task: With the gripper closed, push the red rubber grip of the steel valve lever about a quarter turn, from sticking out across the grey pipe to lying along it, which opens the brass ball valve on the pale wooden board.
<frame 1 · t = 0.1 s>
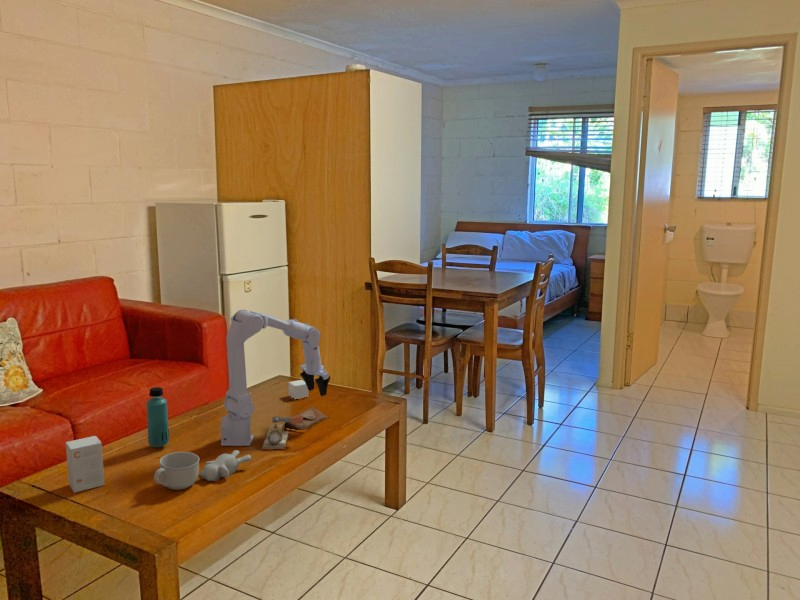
hand: (317, 392, 232), 11 cm above the table, tool pointing down, fingers open, 7 cm apart
sunglasses case: (307, 424, 231), on the table
mounting board: (276, 441, 213), on the table
white cube: (298, 397, 258), on the table
teacup: (175, 487, 181), on the table
valve lever: (287, 419, 212), point 8 cm above the table, hinge at 0.0°
beverage bottle: (158, 447, 206), on the table
small box: (86, 485, 180), on the table
bunny figurine: (225, 473, 190), on the table
valve pipe: (276, 441, 213), resting on mounting board
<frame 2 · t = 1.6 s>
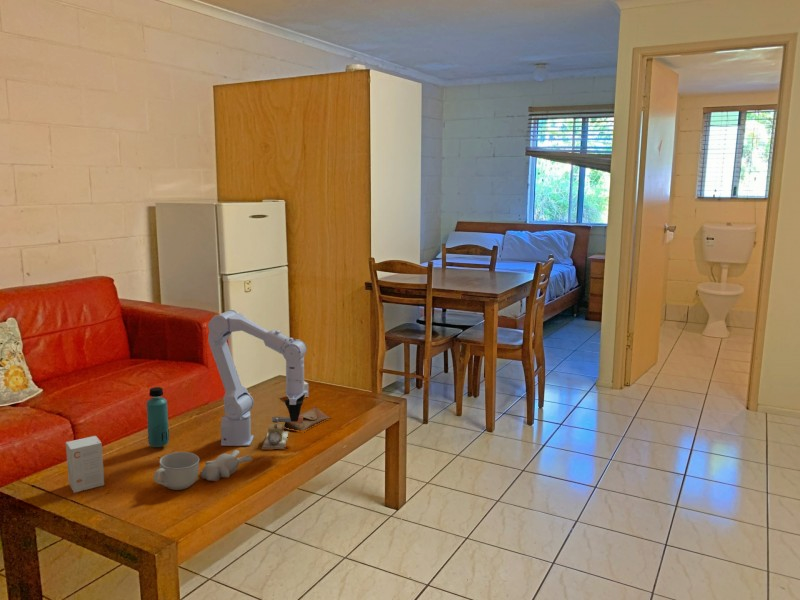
hand: (295, 418, 207), 10 cm above the table, tool pointing down, fingers open, 4 cm apart
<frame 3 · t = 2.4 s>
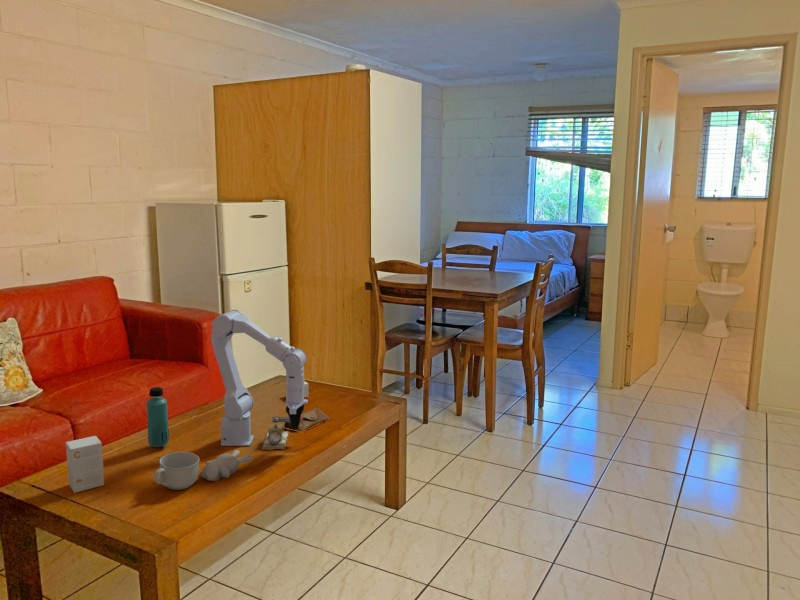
hand: (295, 427, 207), 7 cm above the table, tool pointing down, fingers closed
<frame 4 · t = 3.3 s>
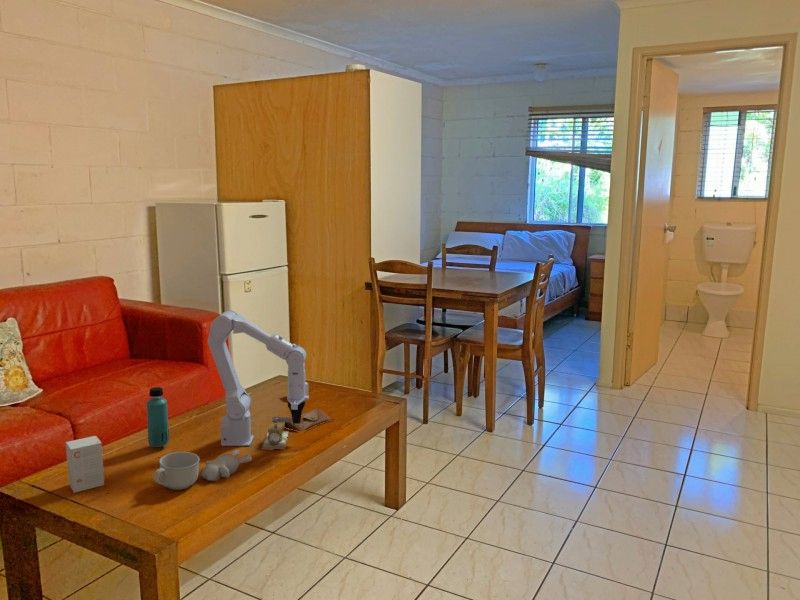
hand: (296, 422, 211), 7 cm above the table, tool pointing down, fingers closed, pressing on valve lever
valve lever: (287, 419, 212), point 8 cm above the table, hinge at 0.8°, touching gripper
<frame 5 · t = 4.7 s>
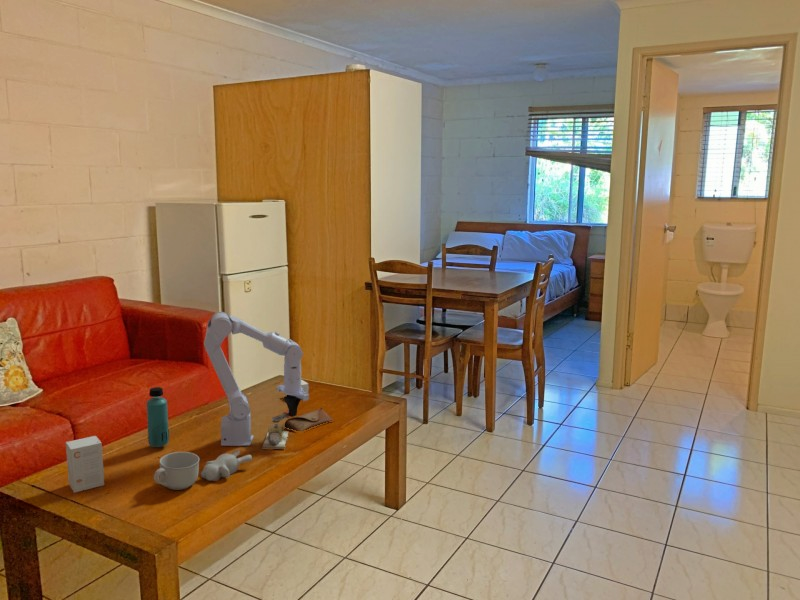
hand: (292, 415, 217), 7 cm above the table, tool pointing down, fingers closed, pressing on valve lever
valve lever: (283, 416, 215), point 8 cm above the table, hinge at 57.5°, touching gripper
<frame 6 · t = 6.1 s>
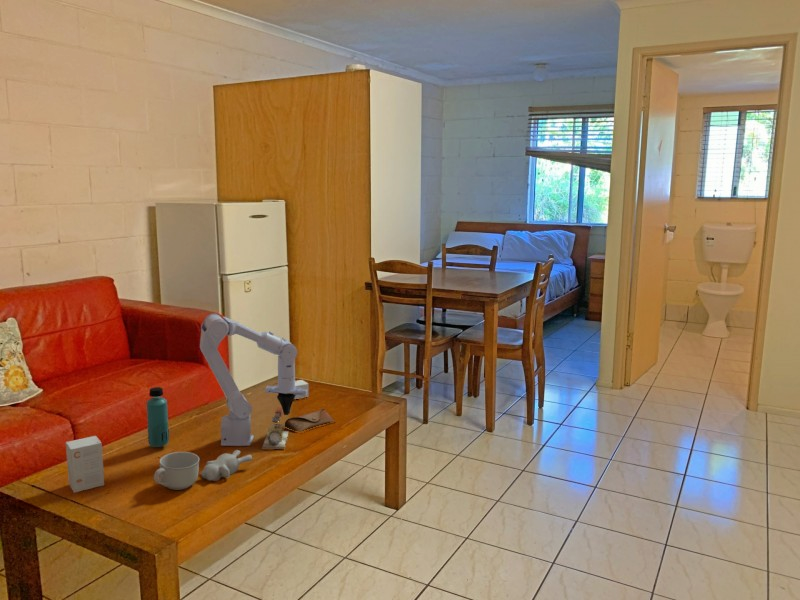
hand: (286, 413, 219), 7 cm above the table, tool pointing down, fingers closed
valve lever: (277, 415, 216), point 8 cm above the table, hinge at 88.1°
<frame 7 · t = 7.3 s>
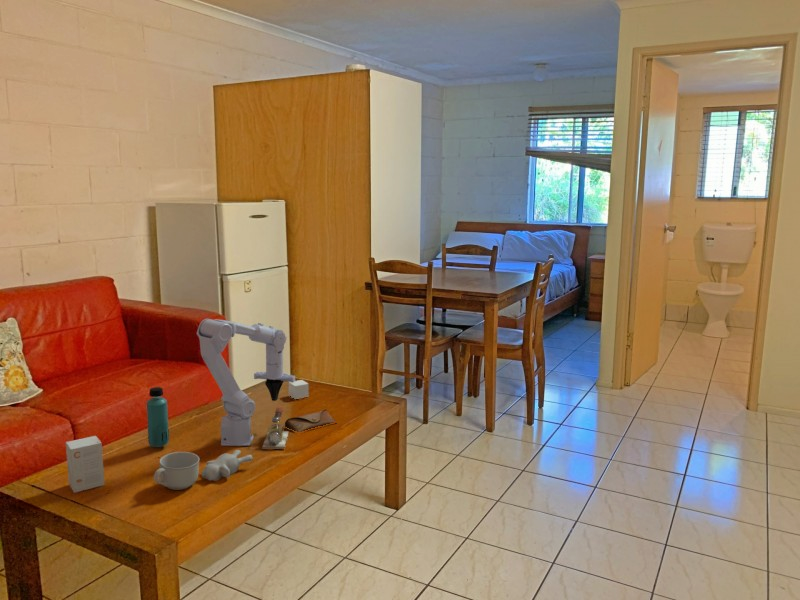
hand: (274, 399, 223), 10 cm above the table, tool pointing down, fingers closed
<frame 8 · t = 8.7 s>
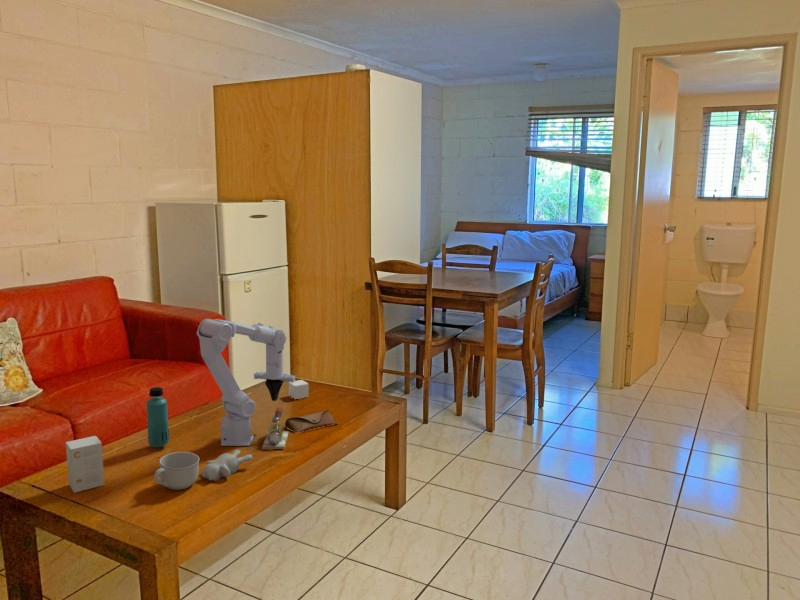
hand: (274, 399, 223), 10 cm above the table, tool pointing down, fingers closed
at the end: valve lever at +88° (first picture: +0°) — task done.
